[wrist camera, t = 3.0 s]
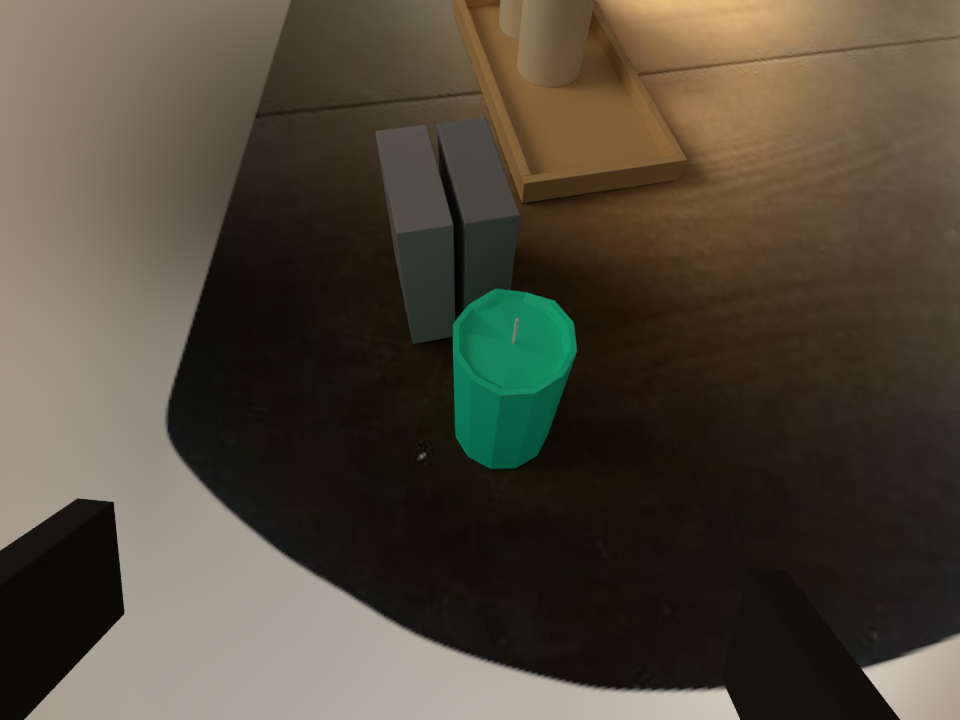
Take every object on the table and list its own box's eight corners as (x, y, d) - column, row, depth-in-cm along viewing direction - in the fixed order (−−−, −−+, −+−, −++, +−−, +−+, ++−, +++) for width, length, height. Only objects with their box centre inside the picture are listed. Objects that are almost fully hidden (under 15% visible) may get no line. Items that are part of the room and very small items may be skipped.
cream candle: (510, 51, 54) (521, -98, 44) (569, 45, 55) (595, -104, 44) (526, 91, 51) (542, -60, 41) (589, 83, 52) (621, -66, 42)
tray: (452, 10, 58) (452, -11, 56) (578, -2, 60) (581, -23, 58) (521, 203, 45) (524, 183, 43) (679, 180, 47) (687, 159, 45)
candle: (567, 423, 36) (610, 318, 26) (504, 490, 34) (523, 405, 23) (498, 365, 38) (511, 246, 27) (434, 425, 36) (422, 320, 25)
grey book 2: (442, 247, 43) (436, 122, 33) (480, 241, 43) (486, 116, 34) (464, 335, 39) (465, 223, 29) (506, 327, 39) (520, 214, 30)
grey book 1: (394, 254, 42) (375, 130, 33) (434, 248, 43) (426, 124, 33) (412, 344, 39) (396, 233, 29) (455, 336, 39) (453, 225, 29)
